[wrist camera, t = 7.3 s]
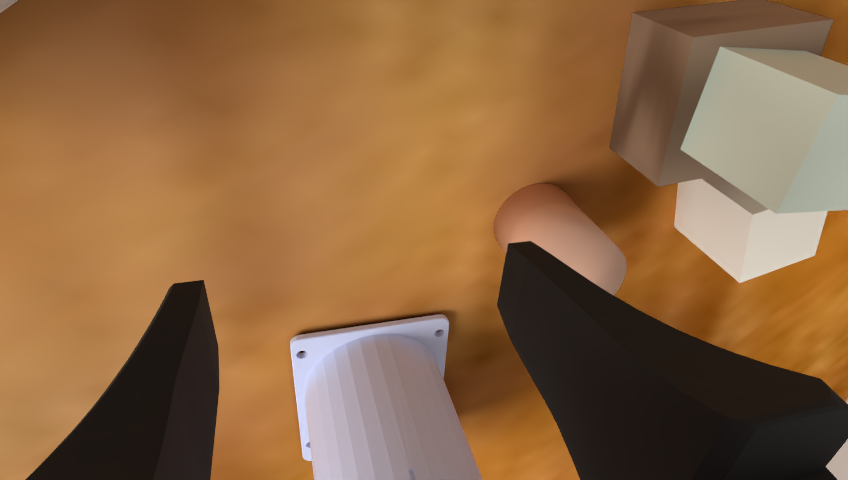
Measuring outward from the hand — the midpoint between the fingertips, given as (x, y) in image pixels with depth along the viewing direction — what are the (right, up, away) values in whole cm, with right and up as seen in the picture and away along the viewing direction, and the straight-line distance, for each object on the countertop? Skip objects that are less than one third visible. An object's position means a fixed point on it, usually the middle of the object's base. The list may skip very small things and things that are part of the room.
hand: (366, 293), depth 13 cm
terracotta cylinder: (+7, +2, +14) cm, 16 cm away
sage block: (+14, +7, +8) cm, 17 cm away
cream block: (+16, +4, +16) cm, 23 cm away
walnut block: (+13, +9, +12) cm, 19 cm away
